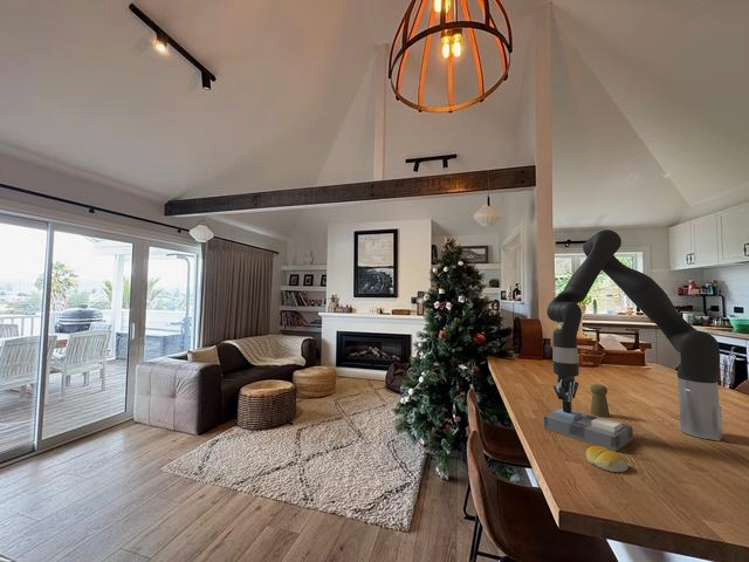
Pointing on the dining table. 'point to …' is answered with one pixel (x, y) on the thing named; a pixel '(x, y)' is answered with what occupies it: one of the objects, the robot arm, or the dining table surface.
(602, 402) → the cork
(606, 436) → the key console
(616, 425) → the ivory key
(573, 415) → the slate-blue key
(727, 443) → the dining table surface
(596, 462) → the bread roll
